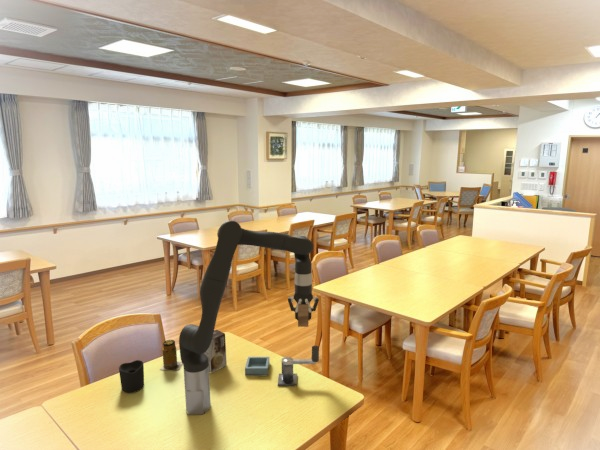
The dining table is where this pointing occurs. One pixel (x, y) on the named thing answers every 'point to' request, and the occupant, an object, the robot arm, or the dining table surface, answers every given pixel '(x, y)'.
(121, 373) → the pen holder
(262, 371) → the tray
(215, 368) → the coffee box
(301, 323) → the block
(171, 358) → the condiment
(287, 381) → the crank pedestal
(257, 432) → the dining table surface
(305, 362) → the crank lever
